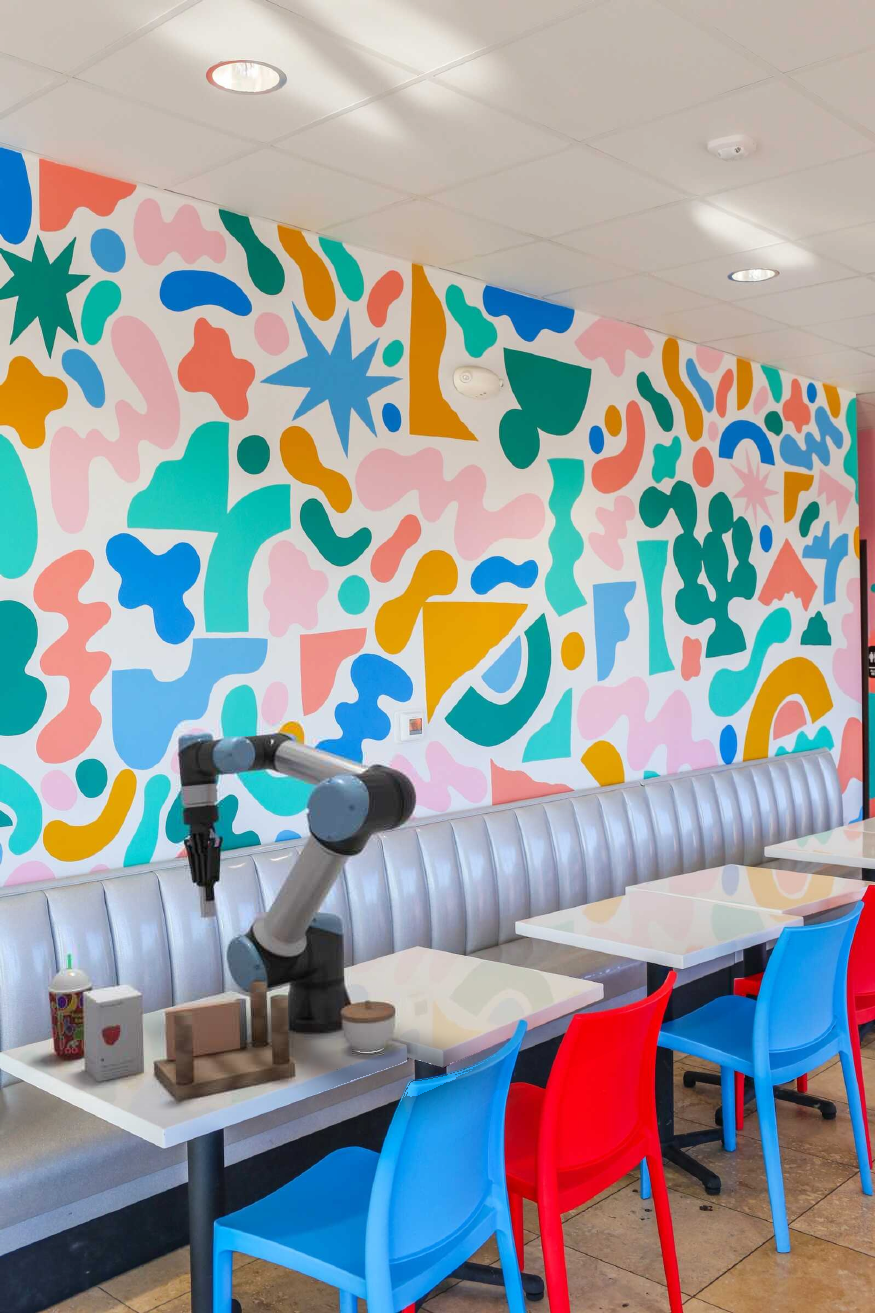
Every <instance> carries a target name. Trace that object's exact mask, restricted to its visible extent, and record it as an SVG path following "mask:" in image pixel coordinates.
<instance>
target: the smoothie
mask: <svg viewBox="0 0 875 1313" xmlns="http://www.w3.org/2000/svg"><path fill="white" fill-rule="evenodd" d="M47 990H48V998H49V1008H50V1017H51V1019H50V1020H51V1028H52V1039H53V1040H52V1041H53V1042H52V1043H53V1051H54V1052H55V1053H56V1055H57V1058H58V1059H60V1060H77V1059H80V1058H83V1057H84V1013H83V992H87V991H93V983H92V981H90V978H89V976H88V975H87V974H86V973H85V972H84V971H83V970H82V969H80V968H77V967H73V966H72V953H69V954H67V968H64V969H61V970H60V971H58V972H57V973H56V974H55V975H54V977H53V978H52V980H51V983H50V985H49V986H48V988H47Z"/></svg>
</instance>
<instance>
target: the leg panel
mask: <svg viewBox="0 0 875 1313" xmlns="http://www.w3.org/2000/svg"><path fill="white" fill-rule="evenodd" d="M178 1012H191V1013H192V1026H193V1056H197V1055H203V1054H209V1053H215V1052H221V1051H227V1050H233V1049H239V1048H246V1047H247V1043H248V1029H247V1028H248V1027H247V1025H248V1024H247V1022H248V1021H247V999H246V998H237V999H230V1000H224V1001H219V1002H218V1001H217V1002H211V1003H204V1004H198V1005H196V1004H195V1005H190V1006H184V1007H177V1008H170V1009H165V1010H164V1014H165V1020H164V1021H165V1044H166V1045H165V1047H166V1048H165V1049H166V1052H165V1053H166V1059H168V1060H173V1059H175V1038H174V1014H175V1013H178Z"/></svg>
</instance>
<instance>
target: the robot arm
mask: <svg viewBox="0 0 875 1313" xmlns="http://www.w3.org/2000/svg"><path fill="white" fill-rule="evenodd" d="M177 742H178V743H177V744H178V745H177V747H178V752H177V757H178V766H179V778H180V786H181V787H180V793H181V804H182V806H184V807H185V808H184V807H183V809H182V817H183V818H182V820H183V821H182V822H183V825H185V826H189V832H188V835H189V836H188V838H185V839H184V840H183V845H184V848H185V849H186V855H187V859H188V865H189V871H190V875H191V879H192V880H191V881H192V883H193V884H196V886H197V887H198V892H199V893H198V894H199V906H200V907H199V908H200V918H202V919H205V918H212V917H216V916H217V913H216V902H215V901H216V900H215V885H216V883H219V882H220V878H221V876H220V875H221V854H222V845H223V841H224V840H223V839H224V838H223V837H222V836H218V835H217V834H216V833H217V832H216V828H215V823H218V822H219V821H220V812H219V810H220V809H219V806H218V805H217V804H216V803H217V802H218V791H219V790H218V788H217V776H223V775H224V776H225V775H234V774H240V773H247V772H248V773H249V772H255V771H263V770H264V771H265V770H271V771H275V772H276V773H278V774H279V773H280V774H282V775H286V776H287V777H291V778H293V779H295V780H299V781H301V782H304V783H307V784H309V785H312V786H314V788H313V789H312V791H311V793H310V794H309V797H308V800H307V804H306V809H307V810H308V812H307V813H306V818H307V824H308V825H307V826H308V827H307V828H308V830H309V831H308V832H309V833H310V835H309V837H308V839H307V841H306V842H305V844H304V846H303V847H302V850H301V851H300V854H299V855H298V857H297V859H296V860H295V863H294V864H293V866H292V867H291V870H290V872H289V873H288V875H287V877H286V878H285V880H284V882H283V884H282V886H281V888H280V889H279V891H278V893H277V895H276V897H275V898H274V900H273V902H272V904H271V905H270V907H269V909H268V911H265V912H262V913H260V914H258V915H257V917H256V918H254V921H253V923H252V924H251V926H250V928H249V930H248V931H247V932H246V933H245V934H238V935H237V936H235V937H233V938H232V939H231V940H230V941H229V944H228V946H227V948H226V962H227V965H228V971H229V973H230V975H231V977H232V980H233V981H234V983H235V984H236V985H237V986H238V988H239V989H240V990H242V991H243V992H245V993H249V994H250V983H251V982H254V981H265V982H266V986H267V991H268V990H271V989H274V988H276V987H280V986H283V985H286V984H289V989H288V993H287V996H288V1022H289V1032H290V1031H291V1032H294V1033H299V1034H300V1033H301V1034H302V1033H303V1034H318V1033H319V1034H320V1033H321V1034H323V1033H329V1032H335V1031H339V1030H343V1028H342V1017H341V1010H342V1009H343V1008H344V1007H346V1006H348V1005H351V1004H353V1003H352V1001H351V998H350V995H349V992H348V990H347V987H346V984H345V952H344V951H345V948H344V947H345V946H344V944H345V943H344V938H345V934H344V930H343V929H344V928H343V922H342V919H341V917H339V916H338V915H336V914H334V913H330V912H329V913H328V912H319V910H320V908H321V906H322V905H323V903H324V902H325V900H326V898H327V897H328V895H329V893H330V891H331V889H332V888H333V887H334V884H335V883H336V881H337V879H338V877H339V876H340V875H341V872H342V871H343V869H344V868H345V865H346V864H347V863H348V860H349V858H351V857H355V856H359V855H360V853H362V852H363V850H364V848H365V846H366V845H367V844H368V842H369V840H370V838H371V837H372V835H374V834H376V833H382V832H387V831H390V830H391V831H392V830H395V829H398V828H400V827H401V826H403V825H404V824H405V823H406V822H407V821H409V819H410V818H411V816H412V815H413V813H414V810H415V808H416V805H417V804H416V803H417V793H416V789H415V786H414V784H413V782H412V781H411V779H410V778H409V777H408V776H407V775H406V774H404V773H403V772H401V771H399V770H397V769H395V768H391V767H389V766H385V765H382V764H378V763H376V764H375V763H374V764H371V765H367V764H364V763H360V762H358V761H354V760H351V759H348V758H345V757H343V756H339V755H337V754H335V753H330V752H328V751H325V750H322V749H319V748H316V747H313V746H310V745H306V744H303V743H301V742H300V741H299V739H297V737H296V735H294V734H292V733H287V732H285V733H283V732H276V733H270V734H269V733H268V734H258V735H250V736H249V735H248V736H247V735H246V736H228V737H225V738H220V739H214V738H213V734H212V733H210V732H197V733H195V732H194V733H188V734H183V735H181V736H180V737H179V738H178V740H177Z"/></svg>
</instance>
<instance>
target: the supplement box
mask: <svg viewBox="0 0 875 1313" xmlns="http://www.w3.org/2000/svg"><path fill="white" fill-rule="evenodd" d="M83 1013H84V1056H83V1057H84V1059H83V1060H84V1069H85V1071H86V1072H88V1074H90V1075H91V1076H92V1077H93V1078H94V1080H96V1081H97V1082H99V1083H100V1082H104V1081H109V1080H113V1079H118V1078H122V1077H127V1076H132V1075H136V1074H139V1073H140V1074H141V1073H144V1072H145V1059H144V1058H145V1057H144V1055H145V1054H144V1052H145V1051H144V1025H143V1024H144V1021H143V1020H144V1018H143V1017H144V1016H143V994H142V993H141V992H140V991H138V990H137V989H135V988H134V987H132V986H131V985H129V984H123V985H122V984H121V985H116V986H111V987H104V988H99V989H94V990H93V989H92V991H87V992H83Z"/></svg>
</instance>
